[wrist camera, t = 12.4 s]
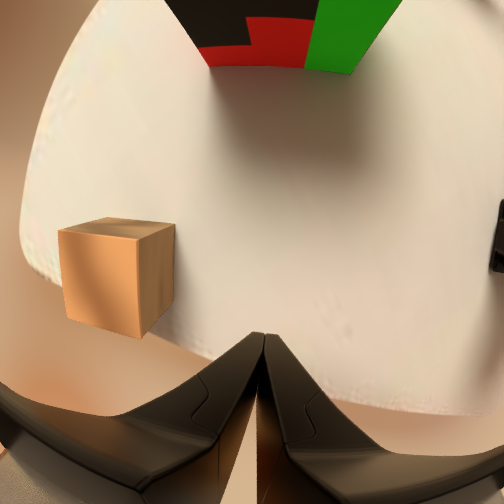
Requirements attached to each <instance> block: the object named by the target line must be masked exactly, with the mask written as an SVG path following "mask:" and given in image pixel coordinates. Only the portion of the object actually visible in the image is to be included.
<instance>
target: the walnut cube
mask: <svg viewBox="0 0 504 504" xmlns="http://www.w3.org/2000/svg"><path fill="white" fill-rule="evenodd" d="M174 236H175V224H171V223H161V222H151V221H141V220H131V219H120V218H109V217H106V218H102V219H98V220H94V221H91V222H87V223H83V224H79V225H76V226H72V227H68V228H65V229H61V230H58V244H59V258H60V268H61V278H62V286H63V293H64V299H65V306H66V311H67V317H68V318H70V319H73V320H77V321H79V322H82V323H86V324H89V325H92V326H95V327H98V328H101V329H105V330H108V331H112V332H115V333H119V334H122V335H126V336H130V337H134V338H138V339H142V337H143V336H144V335H145V334H146V333H147V331H148V330H149V329H150V328H151V327H152V325H153V324H154V323H155V322H156V321H157V319H158V318H159V317H160V316H161V315H162V314H163V312H164V311H165V310H166V309H167V308H168V306H169V305H170V304H171V303H172V302H173V267H174Z"/></svg>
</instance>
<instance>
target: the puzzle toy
mask: <svg viewBox="0 0 504 504" xmlns="http://www.w3.org/2000/svg"><path fill="white" fill-rule="evenodd" d="M164 1H165V2H166V3H167V5H168V6H169V8H170V9H171V10H172V12H173V13H174V15H175V16H176V17H177V19H178V20H179V22H180V23H181V25H182V26H183V28H184V29H185V31H186V32H187V34H188V35H189V37H190V38H191V40H192V41H193V43H194V44H195V46H196V47H197V49H198V50H199V52H200V53H201V55H202V57H203V58H204V60H205V61H206V63H207V64H208V66H209V67H212V66H279V67H294V68H305V69H315V70H323V71H330V72H337V73H343V74H349V75H350V74H351V73H352V71H353V70H354V68H355V67H356V65H357V64H358V63H359V61H360V60H361V58H362V57H363V55H364V54H365V53H366V51H367V50H368V48H369V47H370V45H371V44H372V43H373V41H374V40H375V38H376V37H377V35H378V34H379V33H380V31H381V30H382V28H383V27H384V26H385V24H386V23H387V21H388V20H389V18H390V17H391V16H392V14H393V13H394V12H395V10H396V9H397V7H398V6H399V5H400V3H401V2H402V0H164Z"/></svg>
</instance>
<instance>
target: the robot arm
mask: <svg viewBox="0 0 504 504" xmlns="http://www.w3.org/2000/svg"><path fill="white" fill-rule="evenodd" d="M494 264H495V265H494ZM490 269H491V270H492V271H495V272H501V273H504V199H502V201H501V205H500V213H499V220H498V227H497V232H496V238H495V243H494V248H493V253H492V257H491V261H490ZM258 381H259V382H258ZM257 388H258V389H257ZM256 394H257V399H256V400H257V401H256V404H257V405H256V413H257V414H256V416H257V417H256V418H257V419H256V420H257V504H504V496H503V494H502V492H501V489H502V488H503V487H504V445H502V446H499V447H496V448H494V449H492V450H489V451H487V452H484V453H479V454H474V455H466V456H424V455H408V454H398V453H394V452H391V451H388V450H386V449H384V448H383V447H381V446H380V445H378V444H377V443H376V442H375V441H373V440H372V439H371V438H370V437H369V436H368V435H367V434H365V433H364V432H363V431H362V430H361V429H360V428H358V426H356V425H355V424H354V423H353V422H352V421H351V420H350V419H349V418H348V417H347V416H346V415H344V414H343V413H342V412H341V411H340V410H339V409H338V408H337V407H336V406H335V404H334V403H333V402H332V401H331V400H330V399H329V398H328V396H327V395H326V394H325V393H324V391H322V389H321V388H320V387H319V385H318V384H317V383H316V382H315V381H314V379H313V378H312V377H311V376H310V374H309V373H308V372H307V371H306V369H305V368H304V367H303V366H302V364H301V363H300V362H299V361H298V359H297V358H296V357H295V356H294V354H293V353H292V352H291V351H290V349H289V348H288V347H287V346H286V344H285V343H284V342H283V340H282V339H281V338H280V337H279V335H277V334H268V333H267V334H266V335H265V334H264V333H260V332H251V333H250V334H249V335H247V336H246V337H245V338H244V339H242V340H241V341H240V342H239V343H237V344H236V345H235V346H233V347H232V348H231V349H229V350H228V351H227V352H225V353H224V354H223V355H222V356H220V357H219V358H218V359H216V360H215V361H214V362H212V363H211V364H209V365H208V366H207V367H205V368H204V369H203V370H201V371H200V372H199V373H197V374H196V375H194V376H193V377H191V378H190V379H189V380H187V381H186V382H184V383H183V384H181V385H180V386H178V387H176V388H175V389H173V390H171V391H169V392H167V393H166V394H164V395H162V396H160V397H158V398H156V399H154V400H152V401H150V402H148V403H146V404H144V405H141V406H140V407H137V408H135V409H133V410H131V411H129V412H126V413H124V414H120V415H117V416H109V417H107V416H106V417H105V416H97V415H91V414H85V413H80V412H75V411H70V410H66V409H61V408H57V407H53V406H49V405H45V404H41V403H38V402H35V401H32V400H30V399H27V398H25V397H23V396H21V395H18V394H17V393H15V392H14V391H12V390H11V389H10V388H8V387H7V386H6V385H4V384H3V383H1V382H0V442H1V444H2V445H3V446H4V448H5V449H4V451H3V452H2V453H1V454H0V504H220V502H221V500H222V497H223V494H224V492H225V489H226V486H227V483H228V480H229V478H230V475H231V472H232V469H233V466H234V463H235V460H236V458H237V455H238V452H239V448H240V446H241V442H242V440H243V436H244V434H245V431H246V427H247V424H248V421H249V418H250V415H251V412H252V409H253V405H254V402H255V398H256Z"/></svg>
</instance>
